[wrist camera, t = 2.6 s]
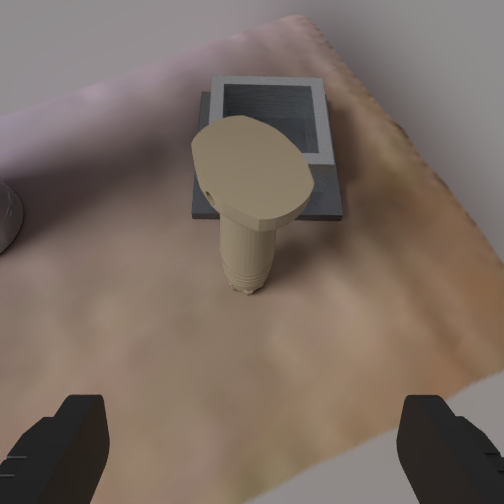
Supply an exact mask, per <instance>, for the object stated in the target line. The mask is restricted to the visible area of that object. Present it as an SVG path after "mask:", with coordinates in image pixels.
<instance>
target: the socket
mask: <svg viewBox="0 0 504 504" xmlns="http://www.w3.org/2000/svg"><path fill="white" fill-rule="evenodd" d="M239 115H245V116H247V117H250V118H252V119H255V120H258V121H260V122H263V123H265V124H268V125H270V126H272V127H273V128H275V129H277V130H278V131H280V132H281V133H282V134H283V135H284V136H285V137H287V138H288V139H289V140H290V141H291V142H292V143H293V144H294V145H295V146H296V147H297V148H298V149H299V150H300V152H301V153H302V154H303V156H304V158H305V160H306V162H307V164H308V167H309V170H310V172H311V175H312V178H313V181H314V186H313V189H312V193H311V196H310V199H309V201H308V203H307V205H306V207H305V209H304V210H303V211H302V212H301V214H300V215H299V216H298V217H297V218H295V219H294V220H322V221H340V220H341V218H342V217H343V210H342V203H341V196H340V189H339V182H338V175H337V168H336V161H335V154H334V147H333V140H332V133H331V126H330V119H329V112H328V105H327V98H326V95H325V94H324V87H323V80H322V78H305V77H266V76H227V75H212V84H211V92H202V96H201V108H200V119H199V131H198V132H200V131H201V130H202V129H203V128H204V127H206V126H208V125H209V124H211V123H213V122H215V121H217V120H220V119H222V118H226V117H229V116H239ZM192 217H193V219H220V213H218V212H217V211H216V210H215V209H214V208H213V207H212V206H211V204H210V203H209V201H208V200H207V198H206V197H205V195H204V193H203V192H202V190H201V188H200V186H199V182H198V179H197V175H196V170H195V179H194V190H193V202H192Z"/></svg>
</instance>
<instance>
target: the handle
mask: <svg viewBox="0 0 504 504" xmlns="http://www.w3.org/2000/svg"><path fill="white" fill-rule="evenodd" d="M191 148H192V154H193V160H194V165H195V170H196V175H197V179H198V182H199V186H200V188H201V190H202V192H203V193H204V195H205V197H206V198H207V200H208V201H209V203H210V204H211V206H212V207H213V208H214V209H215V210H216V211H217V212H218V213H220V256H221V262H222V266H223V269H224V273H225V275H226V277H227V279H228V284H229V286H230V287H231V289H232V290H234V291H235V290H238V291H241V292H243V293H245V294H246V295H252V294H253V292H254V291H255V290H256V289H258V288H261V287H262V286H263V285H264V283H265V280H266V278H267V276H268V274H269V271H270V269H271V266H272V263H273V258H274V253H275V240H276V229H278V228H281V227H283V226H285V225H287V224H288V223H290V222H292V221H293V220H294V219H295V218H297V217H298V216H299V215H300V214H301V212H302V211H303V210H304V209H305V207H306V205H307V203H308V201H309V199H310V196H311V193H312V189H313V186H314V181H313V178H312V175H311V172H310V170H309V167H308V164H307V162H306V160H305V158H304V156H303V154H302V153H301V152H300V150H299V149H298V148H297V147H296V146H295V145H294V144H293V143H292V142H291V141H290V140H289V139H288V138H287V137H285V136H284V135H283V134H282V133H281V132H280V131H278V130H277V129H275V128H273V127H272V126H270V125H268V124H265V123H263V122H260V121H258V120H255V119H252V118H250V117H247V116H245V115H239V116H229V117H226V118H222V119H220V120H217V121H215V122H213V123H211V124H209V125H208V126H206V127H204V128H203V129H202V130H201V131H200V132H198V134H197V135H196V136H195V137H194V139H193V141H192V143H191Z"/></svg>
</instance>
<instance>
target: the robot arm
mask: <svg viewBox="0 0 504 504" xmlns="http://www.w3.org/2000/svg"><path fill="white" fill-rule="evenodd" d="M22 221H23V206H22V203H21V201H20V199H19V198H18V196H17V195H16V194H15V193H14V192H13V191H12V190H11V189H10V188H9V187H8V186H7V185H6V184H5V183H4V182H3V181H2V180H1V179H0V253H1V252H3V251H4V250H5V249H6V248H7V247H8V246H9V245H10V244H11V242H12V241H13V240H14V238H15V237H16V235H17V234H18V232H19V230H20V227H21V225H22ZM109 446H110V439H109V432H108V425H107V419H106V412H105V406H104V400H103V397H102V396H101V395H69V396H68V397H67V398H66V399H65V400H64V402H63V403H62V405H61V406H60V408H59V409H58V411H57V412H56V414H55V415H54V417H43V418H42V419H41V420H40V421H38V422H37V423H36V424H35V425H33V426H32V427H31V428H30V429H29V430H27V431H26V432H25V433H24V434H23V435H22V436H21V437H20V439H19V440H18V441H17V443H16V444H15V445H14V447H13V448H12V450H11V451H10V452H9V454H8V455H7V459H6V460H4V461H3V462H2V463H1V465H0V504H90V502H91V500H92V497H93V495H94V492H95V490H96V487H97V485H98V483H99V480H100V478H101V475H102V473H103V470H104V468H105V465H106V462H107V459H108V454H109ZM397 452H398V457H399V460H400V463H401V465H402V468H403V470H404V472H405V474H406V476H407V478H408V480H409V482H410V484H411V486H412V488H413V491H414V493H415V495H416V497H417V499H418V501H419V503H420V504H504V457H501V455H500V452H499V451H498V450H497V448H496V447H495V446H494V445H493V443H492V442H491V441H490V440H489V439H488V437H487V436H486V435H485V433H483V432H482V431H481V430H479V429H478V428H477V427H476V426H474V425H473V424H472V423H471V422H469V421H468V420H467V419H465V418H464V417H462V416H459V417H458V416H455V414H454V413H453V412H452V411H451V409H450V408H449V406H448V405H447V404H446V402H445V401H444V400H443V399H442V398H441V397H440V396H438V395H408V396H407V397H406V398H405V401H404V406H403V410H402V415H401V420H400V425H399V430H398V435H397Z"/></svg>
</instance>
